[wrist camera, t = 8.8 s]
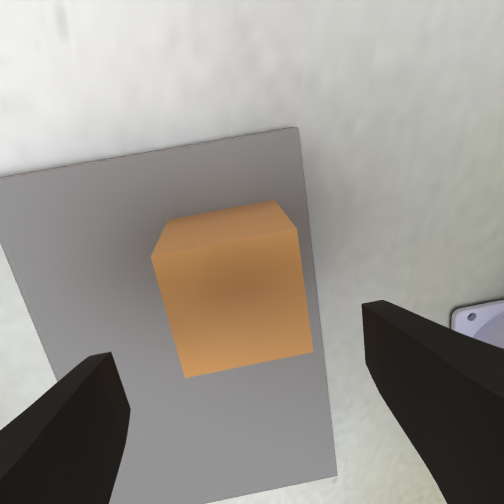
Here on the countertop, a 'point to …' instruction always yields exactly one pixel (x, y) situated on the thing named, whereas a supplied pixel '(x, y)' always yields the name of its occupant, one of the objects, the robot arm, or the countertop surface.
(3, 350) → the countertop surface
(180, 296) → the wooden cube
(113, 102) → the countertop surface
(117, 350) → the board
